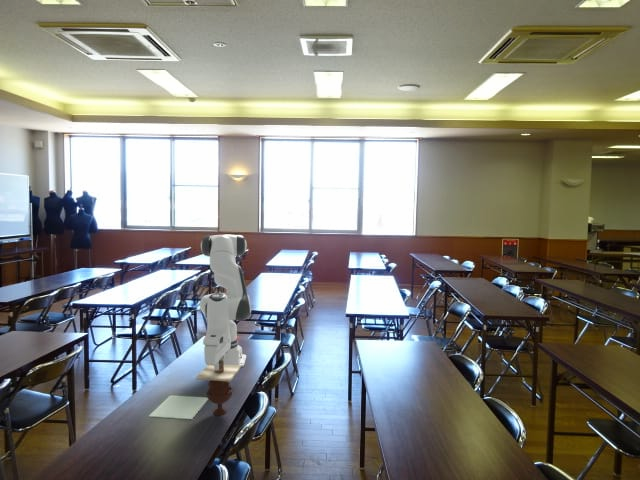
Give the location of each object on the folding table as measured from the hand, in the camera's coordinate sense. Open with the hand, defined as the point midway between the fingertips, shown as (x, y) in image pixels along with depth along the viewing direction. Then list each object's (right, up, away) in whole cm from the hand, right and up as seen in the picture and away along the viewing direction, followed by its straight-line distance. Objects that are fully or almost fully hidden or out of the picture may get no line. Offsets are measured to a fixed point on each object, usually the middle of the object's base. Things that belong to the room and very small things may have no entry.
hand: (219, 367), depth 170 cm
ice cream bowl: (0, -19, +2) cm, 19 cm away
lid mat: (-18, -19, +6) cm, 26 cm away
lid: (0, -3, 0) cm, 2 cm away
